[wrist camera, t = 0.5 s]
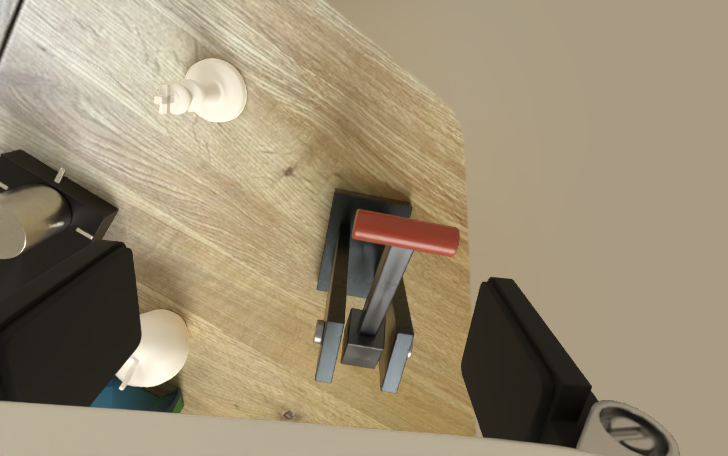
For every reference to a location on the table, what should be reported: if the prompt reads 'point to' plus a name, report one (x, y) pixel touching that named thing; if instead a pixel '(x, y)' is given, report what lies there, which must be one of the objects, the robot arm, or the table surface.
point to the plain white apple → (156, 350)
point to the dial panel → (83, 229)
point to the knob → (30, 217)
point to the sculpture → (137, 399)
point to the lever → (388, 276)
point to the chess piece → (205, 92)
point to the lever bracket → (359, 287)
